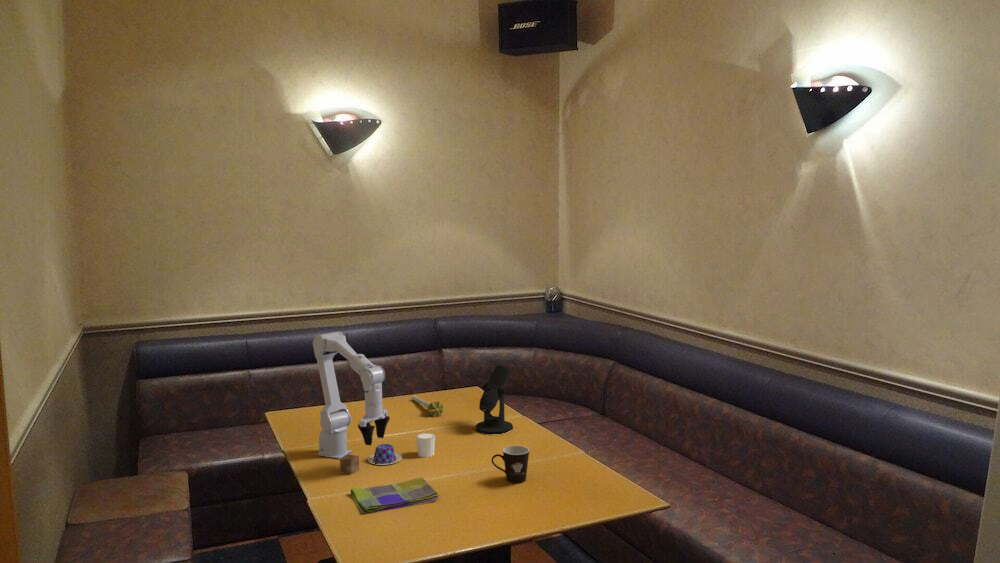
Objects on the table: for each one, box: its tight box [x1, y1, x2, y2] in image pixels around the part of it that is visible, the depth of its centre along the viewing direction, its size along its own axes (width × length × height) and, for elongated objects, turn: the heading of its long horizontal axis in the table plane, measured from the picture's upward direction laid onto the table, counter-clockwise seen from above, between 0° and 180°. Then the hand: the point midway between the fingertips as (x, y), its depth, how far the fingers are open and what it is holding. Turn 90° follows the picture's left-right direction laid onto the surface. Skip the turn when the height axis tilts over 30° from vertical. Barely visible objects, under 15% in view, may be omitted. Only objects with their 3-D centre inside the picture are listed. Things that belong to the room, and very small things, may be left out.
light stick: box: [411, 394, 445, 418], centre depth 317 cm, size 7×6×30 cm
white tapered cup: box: [415, 432, 436, 458], centre depth 261 cm, size 7×7×7 cm
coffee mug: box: [491, 445, 530, 484], centre depth 238 cm, size 12×9×10 cm
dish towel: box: [350, 477, 441, 515], centre depth 224 cm, size 18×24×3 cm
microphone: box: [475, 364, 514, 435], centre depth 288 cm, size 15×17×25 cm
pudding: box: [367, 443, 403, 466], centre depth 256 cm, size 12×12×5 cm
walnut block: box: [339, 453, 360, 475], centre depth 245 cm, size 4×4×5 cm
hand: (374, 441), depth 247 cm, fingers open, 7 cm apart
